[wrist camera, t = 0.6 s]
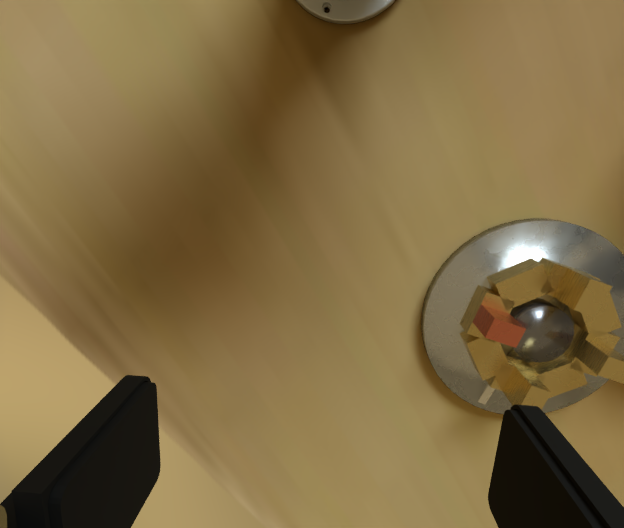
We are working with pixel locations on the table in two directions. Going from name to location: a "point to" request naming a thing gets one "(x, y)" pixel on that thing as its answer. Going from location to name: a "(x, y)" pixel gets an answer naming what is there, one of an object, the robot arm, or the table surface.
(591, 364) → the wooden block ring
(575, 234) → the cap plate
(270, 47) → the table surface
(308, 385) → the table surface
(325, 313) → the table surface
